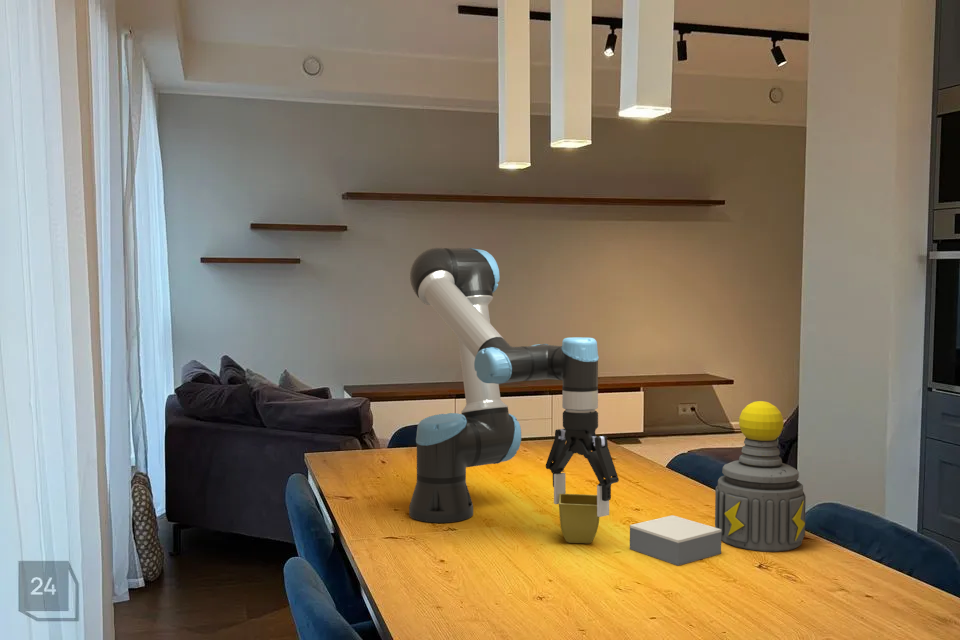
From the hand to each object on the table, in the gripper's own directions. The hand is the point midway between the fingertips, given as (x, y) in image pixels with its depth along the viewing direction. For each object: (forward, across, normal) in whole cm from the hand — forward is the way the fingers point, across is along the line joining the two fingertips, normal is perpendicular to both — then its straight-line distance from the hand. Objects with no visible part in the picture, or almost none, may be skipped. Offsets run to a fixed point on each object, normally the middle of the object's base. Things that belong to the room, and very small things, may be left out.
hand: (580, 509), depth 184 cm
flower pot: (+7, +1, 0) cm, 7 cm away
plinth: (+7, -16, -11) cm, 21 cm away
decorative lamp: (+7, -21, -32) cm, 39 cm away
